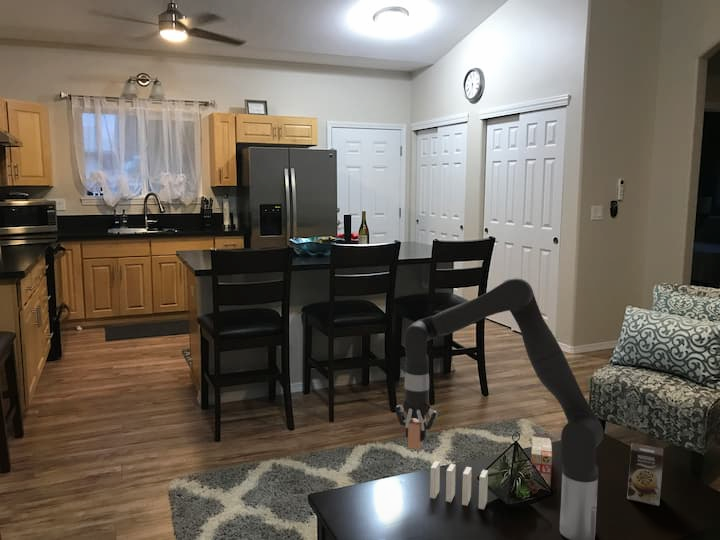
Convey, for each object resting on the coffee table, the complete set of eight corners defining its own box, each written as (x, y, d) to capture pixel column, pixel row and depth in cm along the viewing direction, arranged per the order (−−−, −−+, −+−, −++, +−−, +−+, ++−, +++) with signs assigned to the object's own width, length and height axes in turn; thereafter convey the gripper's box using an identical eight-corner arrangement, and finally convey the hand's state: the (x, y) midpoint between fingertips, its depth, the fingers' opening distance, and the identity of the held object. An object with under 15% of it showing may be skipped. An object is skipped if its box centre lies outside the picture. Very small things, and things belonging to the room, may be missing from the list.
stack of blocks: (531, 461, 206) (532, 428, 205) (549, 463, 204) (551, 430, 203) (529, 489, 186) (531, 453, 184) (550, 492, 184) (552, 455, 183)
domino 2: (439, 491, 184) (440, 461, 183) (435, 499, 179) (435, 468, 178) (434, 490, 185) (435, 460, 183) (430, 498, 180) (430, 467, 179)
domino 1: (423, 443, 183) (423, 419, 182) (418, 450, 179) (419, 425, 178) (412, 442, 185) (413, 417, 184) (407, 448, 180) (408, 423, 179)
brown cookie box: (626, 499, 180) (629, 449, 178) (628, 490, 186) (631, 441, 184) (659, 506, 176) (663, 455, 174) (660, 497, 181) (663, 447, 179)
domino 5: (487, 501, 178) (488, 470, 177) (483, 509, 174) (484, 477, 172) (481, 500, 179) (482, 469, 178) (478, 508, 174) (479, 476, 173)
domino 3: (454, 495, 182) (455, 464, 181) (450, 502, 178) (451, 471, 176) (449, 494, 183) (450, 463, 182) (445, 501, 178) (446, 470, 177)
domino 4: (470, 498, 180) (471, 467, 179) (467, 506, 176) (468, 474, 174) (465, 497, 181) (466, 466, 180) (461, 504, 176) (462, 473, 175)
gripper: (442, 385, 180) (440, 439, 182) (399, 379, 185) (398, 431, 188) (435, 393, 173) (434, 448, 175) (391, 386, 178) (390, 440, 181)
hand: (415, 439), depth 181 cm, fingers closed on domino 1, 3 cm apart
